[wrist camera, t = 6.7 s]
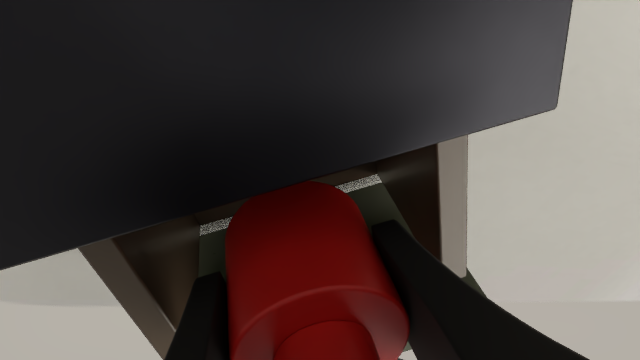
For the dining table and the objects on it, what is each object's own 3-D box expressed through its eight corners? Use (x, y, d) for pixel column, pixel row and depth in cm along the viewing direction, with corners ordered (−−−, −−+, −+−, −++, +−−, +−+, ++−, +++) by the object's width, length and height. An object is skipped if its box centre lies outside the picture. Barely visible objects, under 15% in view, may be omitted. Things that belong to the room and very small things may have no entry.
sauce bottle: (336, 289, 14) (395, 477, 9) (212, 280, 13) (213, 495, 8) (383, 190, 12) (484, 367, 8) (242, 168, 11) (264, 367, 6)
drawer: (412, 254, 22) (485, 386, 16) (218, 313, 22) (221, 472, 16) (370, -175, 12) (526, -239, 6) (-3, -84, 11) (-236, -55, 5)
